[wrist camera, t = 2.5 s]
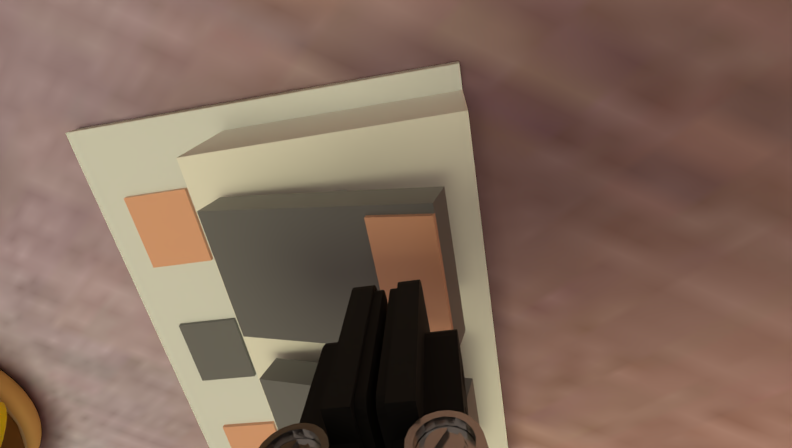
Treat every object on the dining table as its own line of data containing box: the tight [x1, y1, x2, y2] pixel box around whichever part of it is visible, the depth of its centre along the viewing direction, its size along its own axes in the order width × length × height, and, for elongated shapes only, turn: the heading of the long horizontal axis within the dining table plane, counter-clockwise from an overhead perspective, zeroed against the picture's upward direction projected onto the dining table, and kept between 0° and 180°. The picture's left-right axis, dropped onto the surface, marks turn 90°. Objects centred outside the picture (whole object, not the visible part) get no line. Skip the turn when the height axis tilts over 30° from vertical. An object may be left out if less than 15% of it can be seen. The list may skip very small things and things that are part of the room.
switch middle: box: [259, 358, 479, 430], centre depth 18 cm, size 8×5×1 cm, turn 100°
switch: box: [197, 186, 466, 345], centre depth 16 cm, size 8×5×1 cm, turn 100°
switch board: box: [66, 61, 508, 448], centre depth 23 cm, size 17×24×5 cm
